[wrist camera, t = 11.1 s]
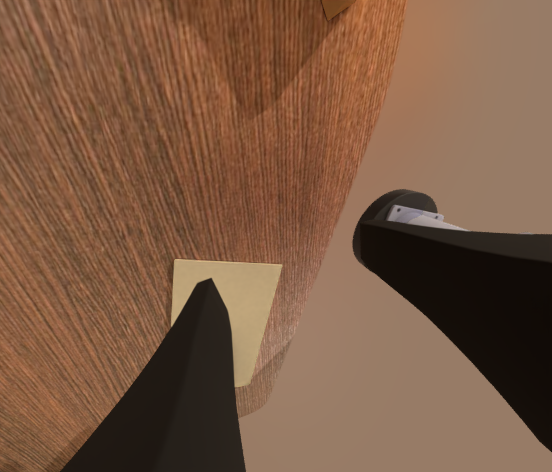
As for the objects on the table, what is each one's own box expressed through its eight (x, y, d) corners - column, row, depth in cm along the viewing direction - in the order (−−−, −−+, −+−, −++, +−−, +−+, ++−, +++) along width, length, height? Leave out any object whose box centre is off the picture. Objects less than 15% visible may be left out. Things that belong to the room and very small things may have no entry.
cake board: (281, 264, 20) (282, 265, 20) (249, 382, 27) (249, 384, 27) (174, 258, 17) (174, 260, 17) (167, 396, 24) (167, 399, 23)
